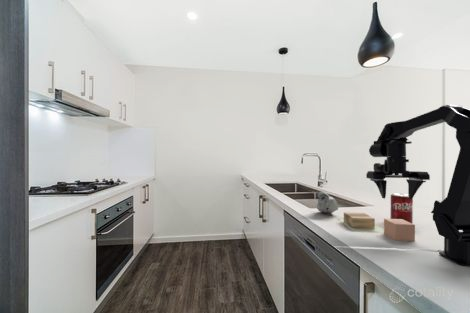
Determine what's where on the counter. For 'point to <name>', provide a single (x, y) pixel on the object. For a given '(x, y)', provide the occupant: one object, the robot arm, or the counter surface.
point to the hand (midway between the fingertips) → (397, 198)
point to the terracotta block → (399, 229)
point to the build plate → (377, 229)
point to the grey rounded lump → (326, 203)
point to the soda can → (401, 207)
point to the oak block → (359, 220)
